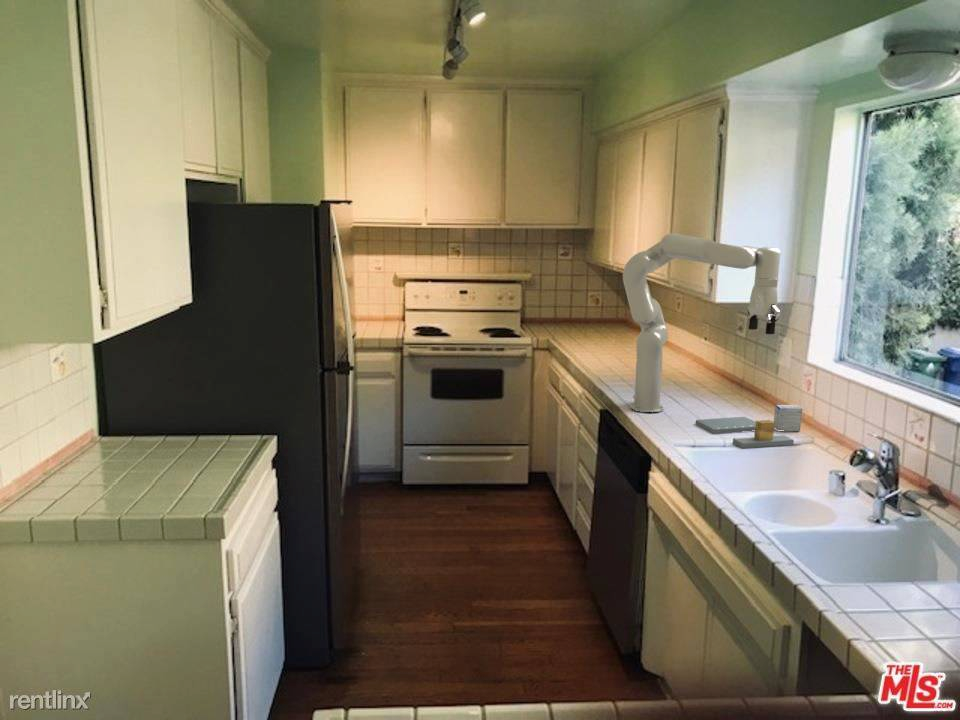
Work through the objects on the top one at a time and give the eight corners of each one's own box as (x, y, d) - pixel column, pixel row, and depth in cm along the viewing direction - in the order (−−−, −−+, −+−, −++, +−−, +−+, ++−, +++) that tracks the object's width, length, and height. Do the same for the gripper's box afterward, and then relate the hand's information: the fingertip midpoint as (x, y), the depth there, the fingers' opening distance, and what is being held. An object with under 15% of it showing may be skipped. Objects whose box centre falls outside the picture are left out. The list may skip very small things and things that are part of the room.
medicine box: (794, 428, 262) (797, 404, 260) (800, 432, 257) (803, 408, 256) (772, 428, 261) (775, 404, 260) (778, 432, 257) (780, 408, 255)
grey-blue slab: (732, 443, 244) (734, 420, 242) (782, 439, 248) (784, 417, 247) (742, 448, 238) (744, 425, 237) (793, 444, 243) (795, 422, 242)
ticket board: (695, 424, 265) (695, 419, 264) (744, 420, 270) (744, 416, 269) (714, 434, 253) (714, 429, 253) (764, 430, 258) (765, 425, 258)
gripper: (741, 280, 265) (737, 328, 269) (772, 286, 249) (767, 336, 252) (760, 280, 267) (755, 327, 271) (791, 285, 251) (786, 335, 254)
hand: (761, 331), depth 261 cm, fingers open, 9 cm apart
